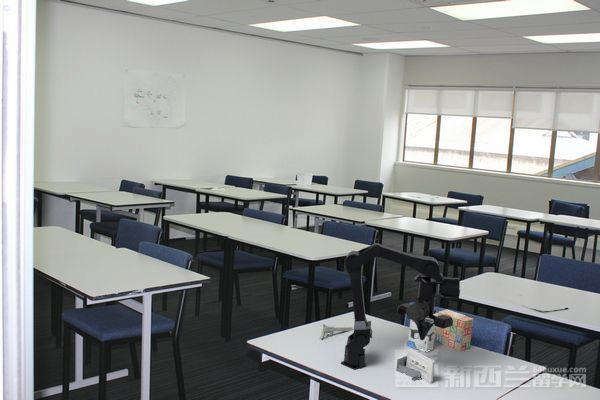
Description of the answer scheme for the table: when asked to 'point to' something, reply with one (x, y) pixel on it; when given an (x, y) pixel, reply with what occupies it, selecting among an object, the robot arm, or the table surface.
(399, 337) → the table surface
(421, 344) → the ink box
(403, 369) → the bracket
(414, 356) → the cassette
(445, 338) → the stack of blocks
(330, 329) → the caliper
